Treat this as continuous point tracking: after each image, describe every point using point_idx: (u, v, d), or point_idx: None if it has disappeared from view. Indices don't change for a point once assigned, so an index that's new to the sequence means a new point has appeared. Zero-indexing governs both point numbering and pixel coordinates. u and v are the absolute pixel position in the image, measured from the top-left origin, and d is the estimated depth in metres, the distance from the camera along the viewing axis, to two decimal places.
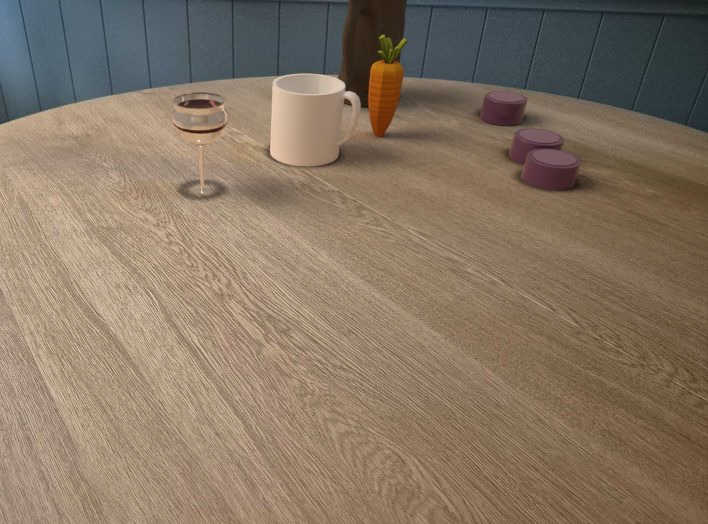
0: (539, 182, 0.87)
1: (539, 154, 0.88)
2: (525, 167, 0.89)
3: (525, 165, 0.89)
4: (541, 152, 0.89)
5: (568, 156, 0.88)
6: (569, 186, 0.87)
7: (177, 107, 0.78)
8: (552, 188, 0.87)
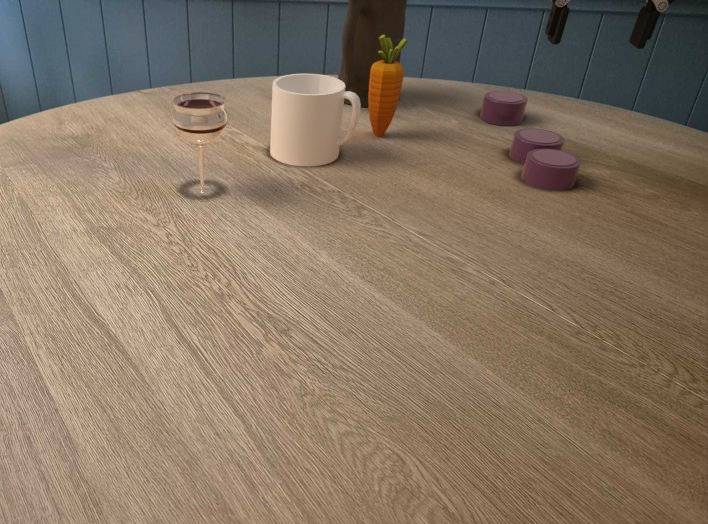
0: (539, 182, 0.87)
1: (539, 154, 0.88)
2: (525, 167, 0.89)
3: (525, 165, 0.89)
4: (541, 152, 0.89)
5: (568, 156, 0.88)
6: (569, 186, 0.87)
7: (177, 107, 0.78)
8: (552, 188, 0.87)
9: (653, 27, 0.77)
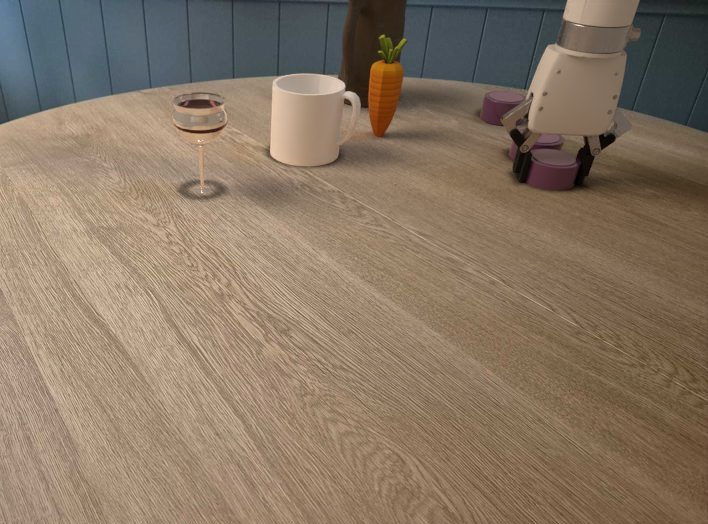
0: (539, 182, 0.87)
1: (539, 154, 0.88)
2: None
3: None
4: (541, 152, 0.89)
5: (568, 156, 0.88)
6: (569, 186, 0.87)
7: (177, 107, 0.78)
8: (552, 188, 0.87)
9: (589, 167, 0.87)
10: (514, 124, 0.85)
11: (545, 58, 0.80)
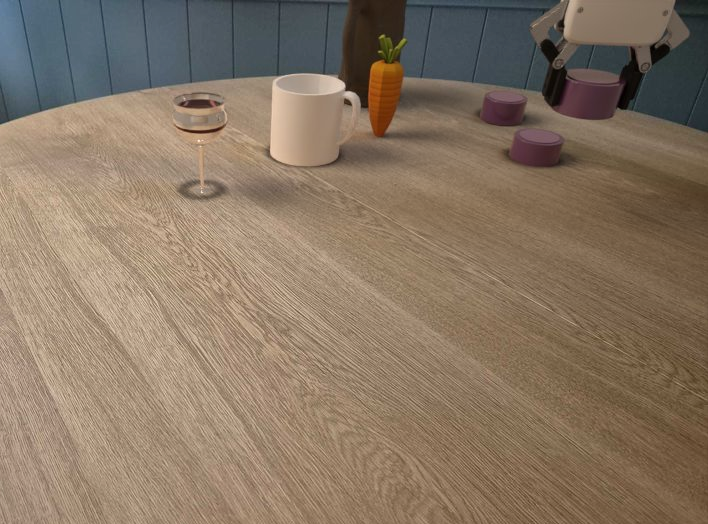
0: (576, 105, 0.72)
1: (575, 73, 0.73)
2: None
3: None
4: (577, 72, 0.74)
5: (610, 75, 0.73)
6: (612, 111, 0.72)
7: (177, 107, 0.78)
8: (591, 112, 0.72)
9: (636, 88, 0.72)
10: (546, 33, 0.70)
11: None
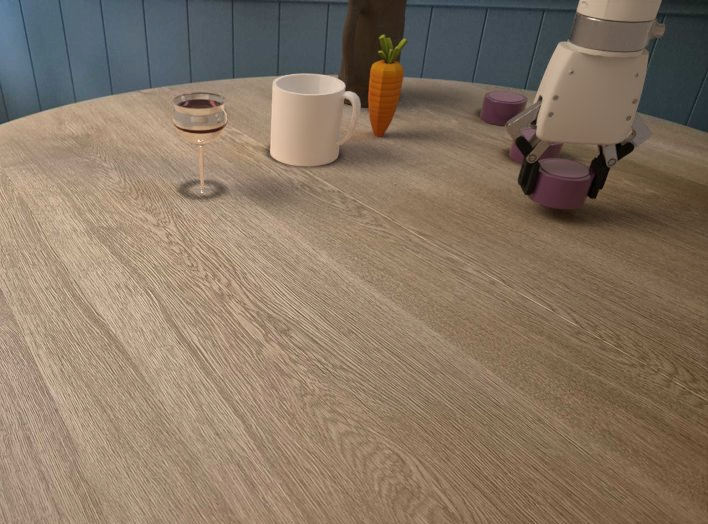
0: (548, 196, 0.78)
1: (548, 165, 0.79)
2: None
3: None
4: (549, 163, 0.79)
5: (580, 167, 0.79)
6: (582, 201, 0.78)
7: (177, 107, 0.78)
8: (562, 203, 0.77)
9: (604, 179, 0.78)
10: (520, 131, 0.76)
11: (556, 57, 0.71)
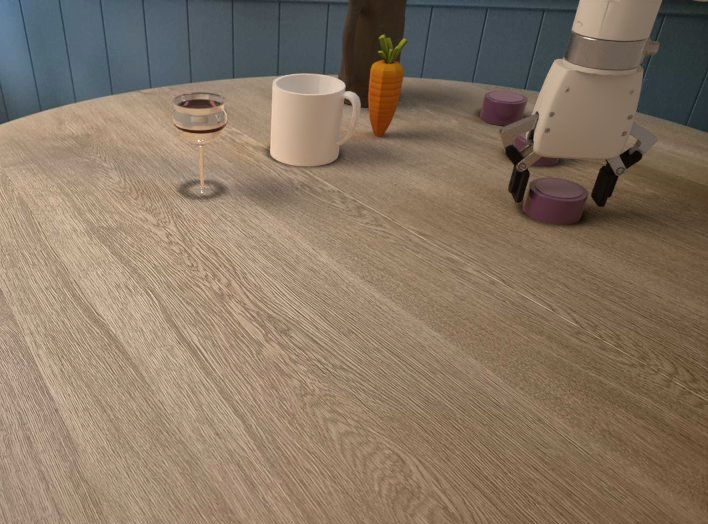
0: (543, 215, 0.79)
1: (542, 185, 0.80)
2: (527, 198, 0.81)
3: (527, 196, 0.81)
4: (544, 182, 0.81)
5: (574, 187, 0.80)
6: (576, 220, 0.79)
7: (177, 107, 0.78)
8: (556, 222, 0.79)
9: (612, 187, 0.78)
10: (512, 140, 0.76)
11: (552, 74, 0.72)
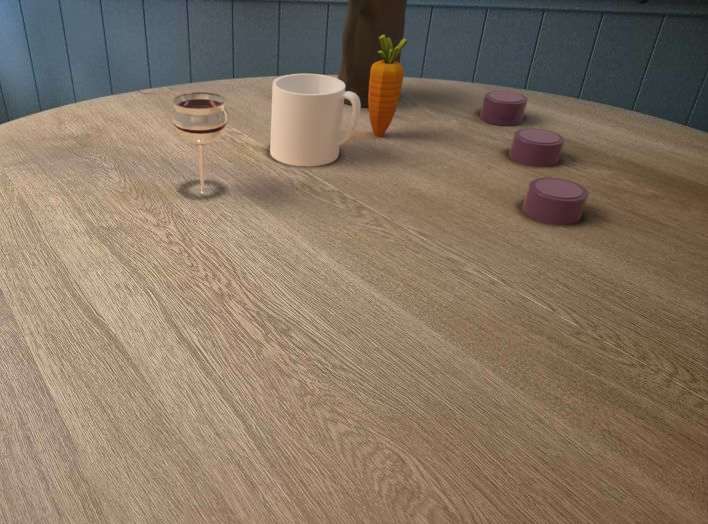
0: (543, 215, 0.79)
1: (542, 185, 0.80)
2: (527, 198, 0.81)
3: (527, 196, 0.81)
4: (544, 182, 0.81)
5: (574, 187, 0.80)
6: (576, 220, 0.79)
7: (177, 107, 0.78)
8: (556, 222, 0.79)
9: None
10: None
11: None
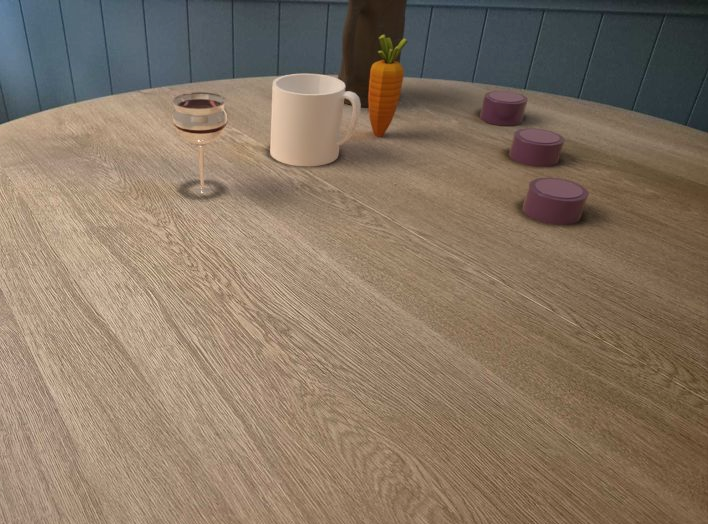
0: (543, 215, 0.79)
1: (542, 185, 0.80)
2: (527, 198, 0.81)
3: (527, 196, 0.81)
4: (544, 182, 0.81)
5: (574, 187, 0.80)
6: (576, 220, 0.79)
7: (177, 107, 0.78)
8: (556, 222, 0.79)
9: None
10: None
11: None
